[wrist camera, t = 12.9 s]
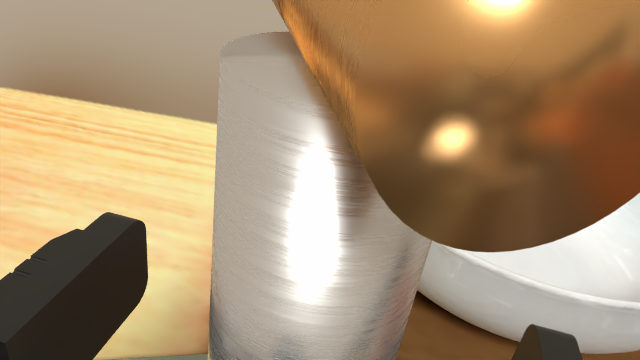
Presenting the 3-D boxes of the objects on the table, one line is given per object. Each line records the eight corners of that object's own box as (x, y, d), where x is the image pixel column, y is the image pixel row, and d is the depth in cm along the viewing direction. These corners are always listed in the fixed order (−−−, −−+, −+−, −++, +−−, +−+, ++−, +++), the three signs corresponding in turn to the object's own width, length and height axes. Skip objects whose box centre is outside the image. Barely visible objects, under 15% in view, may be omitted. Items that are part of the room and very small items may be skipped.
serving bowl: (680, 262, 35) (732, 179, 32) (685, 516, 19) (791, 403, 16) (415, 159, 44) (434, 85, 41) (268, 275, 28) (280, 170, 25)
